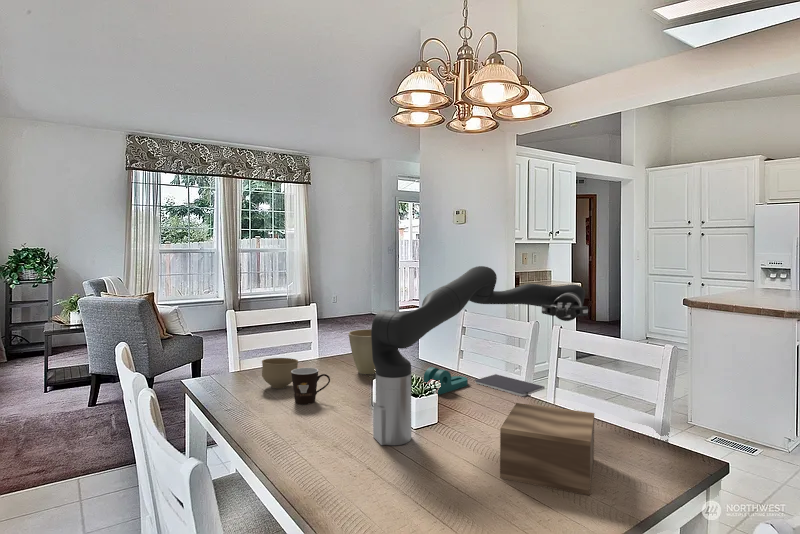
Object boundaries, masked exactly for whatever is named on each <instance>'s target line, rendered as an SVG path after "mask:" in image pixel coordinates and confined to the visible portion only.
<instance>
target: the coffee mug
mask: <svg viewBox="0 0 800 534" xmlns="http://www.w3.org/2000/svg"><path fill="white" fill-rule="evenodd" d="M291 374H292V382H291V383H292V389H293V396H294V403H295V405H296V404H297V405H301V406H302V405H303V406H306V405H310V404H311V405H312V404H314V403H315V402H316V397H317V394H318V393H319V392H321V391H323V390H324V389H325V388H326V387H327V386H329V384H330V382H331V377H330V376H329V375H328V374H326V373H321V374H319V369H318V368H316V367H297V369H294V370H292V371H291ZM321 377H326V378H327V379H328V382H327V383H326V384H325V385H324V386H323V387H320V388H319V389H318V382H319V380H320V379H321ZM317 389H318V390H317Z"/></svg>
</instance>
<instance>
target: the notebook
mask: <svg viewBox="0 0 800 534" xmlns="http://www.w3.org/2000/svg"><path fill="white" fill-rule="evenodd" d="M474 381H475V383H474V384H476V383H477V384H476V385H479V384H480V385H479V386H483V385H484V386H483V387H486V386H488V387H487V388H490V387H491V388H490V389H493V388H494V390H497V389H498V390H497V391H502V392H504V391H505V393H509V394H512V395H515V396H519V397H526V396H529V395H531V394H535V393H537V392H540V391H543V390H545V386H544V385H540V384H535V383H532V382H530V381H529V382H528V381H525V380H520V379H516V378H513V377H508V376H504V375H500V374H497V373H495V374H492V375H488V376H485V377H480V378H477V379H474Z"/></svg>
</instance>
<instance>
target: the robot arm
mask: <svg viewBox="0 0 800 534" xmlns="http://www.w3.org/2000/svg"><path fill="white" fill-rule="evenodd" d="M497 279H498V278H497V274H496V272H495V270H494V269H493V268H491V267H488V266H483V265H479V266H475V267H472V268H470V269H469V270H467V271H465V272H463V274H461V275H460V276H459V277H458V278H456V279H454V280H452V281H450V282H448V283H447V284H445V285H442V286H441V287H438V288H436V289H433V290H432V291H430V292H429V293H428V294H426V295H425V296H424V298H423V301H422V304H421V306H420V307H418V308H416V309H414V310H411V311H404V312H403V311H396V310H395V311H394V310H387V309H386V310H380V311H378V312H377V313H376V315H374V318H373V319H372V324H371V328H370V329H371V340H372V358H373V363H374V365H375V369H376V373H375V400H373V401H372V418H373V419H372V420H373V421H372V426H373V428H372V435H373V436H372V437H373V438H374V439H375V440H376V441H377V442H378V443H379V445H380V446H385V445H386V446H401V445H405V444H407V443H409V442H410V441H411V440H412V364H411V361H410V360H408V358H406V357H404V355H402V354H401V352H400V350H401V349H402V350H403V349H407V348H410V347H411V346H414V344H415V343H417V342H418V341H419V340H421V339H422V338H423V337H425V335H426V334H428V333H429V332H430V331H431V330H433V329H435V328H437V327H439V326H440V325H441V324H443V323H444V322H446V321H448V320H450V319H451V318H453V317H456V316H457V315H458V314H460V312H461V311H462V310H463V309H464V308H465V307H466V305H467V304H468V303H469V302H471V303H474V304H480V305H525V306H526V305H528V306H535V307H540V308H541V314H542V315H543V314H544V315H547V316H552V317H554V316H555V317H556V318H557V319H558V320H560V321H562V322H563V321H564V322H570V321H573V320H575V319H576V318H577V317H587V316H589V307H588V305H587V306H586V305H585V306H584V302H585V298H586V291H585V288H584V287H583V286H581V285H578V284H565V285H558V286H557V285H556V286H553V285H552V286H550V285H543V284H538V283H537V284H536V283H528V284H527V283H526V284H522V285H519V286H516V287H513V288H510V289H505V290H501V291H500V290H495V288H496V284H497ZM399 349H400V350H399Z"/></svg>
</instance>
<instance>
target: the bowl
mask: <svg viewBox="0 0 800 534" xmlns="http://www.w3.org/2000/svg"><path fill="white" fill-rule="evenodd" d="M261 364H262V365H261V366H262V368H261V369H262V371H261V377H262V378H263V381H265V382H266V383H267V384H268V385H269V386H270V387H271V388H272V389H277V390H278V389H279V390H282V389H286V388H287V387H288V386H289V385H291V384H292V383H293V382H292V374H291V371H292V370H294V369H297V368H299V367H298V365H299V360H298V359H296V358H292V357H291V358H288V357H271V358H266V359H263V360H261Z"/></svg>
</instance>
